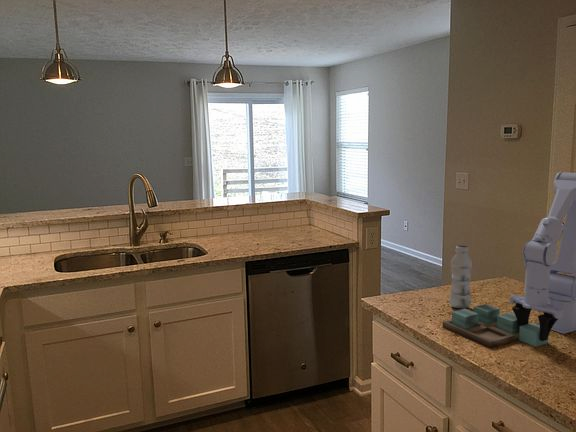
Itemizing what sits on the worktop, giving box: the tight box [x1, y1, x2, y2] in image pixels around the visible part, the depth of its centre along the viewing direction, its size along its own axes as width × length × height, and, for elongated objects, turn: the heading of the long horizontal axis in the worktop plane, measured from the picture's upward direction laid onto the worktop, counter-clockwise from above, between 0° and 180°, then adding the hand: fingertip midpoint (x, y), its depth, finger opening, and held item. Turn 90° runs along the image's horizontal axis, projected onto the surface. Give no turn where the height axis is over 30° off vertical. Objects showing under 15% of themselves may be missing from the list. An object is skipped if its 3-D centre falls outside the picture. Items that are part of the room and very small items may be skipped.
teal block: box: [518, 322, 549, 348], centre depth 137 cm, size 5×5×4 cm
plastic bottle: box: [448, 244, 473, 310], centre depth 163 cm, size 6×7×20 cm
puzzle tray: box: [442, 303, 520, 349], centre depth 144 cm, size 17×17×5 cm
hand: (533, 336), depth 137 cm, fingers open, 5 cm apart
